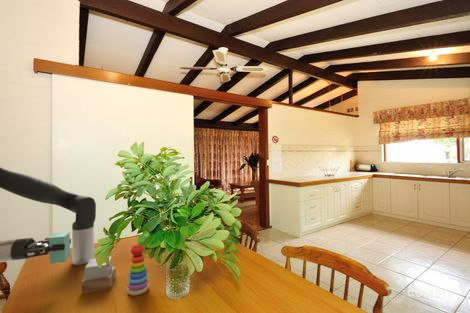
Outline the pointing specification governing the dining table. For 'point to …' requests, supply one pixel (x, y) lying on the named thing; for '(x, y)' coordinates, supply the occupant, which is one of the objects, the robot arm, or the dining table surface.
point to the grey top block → (97, 269)
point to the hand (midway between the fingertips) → (67, 244)
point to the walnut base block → (99, 282)
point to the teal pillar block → (61, 254)
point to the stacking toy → (137, 272)
